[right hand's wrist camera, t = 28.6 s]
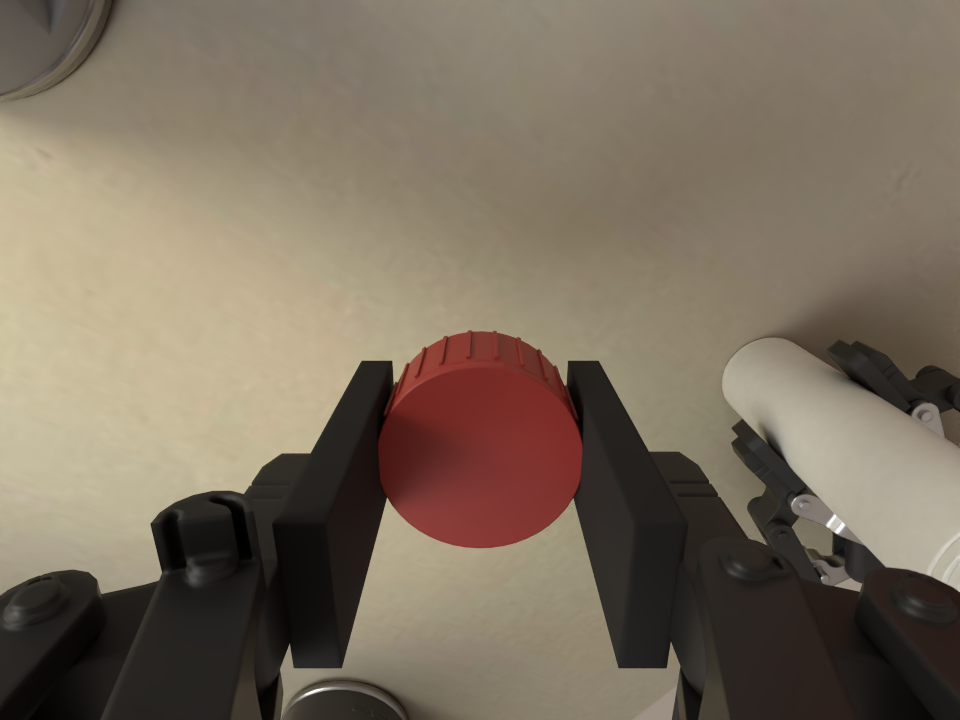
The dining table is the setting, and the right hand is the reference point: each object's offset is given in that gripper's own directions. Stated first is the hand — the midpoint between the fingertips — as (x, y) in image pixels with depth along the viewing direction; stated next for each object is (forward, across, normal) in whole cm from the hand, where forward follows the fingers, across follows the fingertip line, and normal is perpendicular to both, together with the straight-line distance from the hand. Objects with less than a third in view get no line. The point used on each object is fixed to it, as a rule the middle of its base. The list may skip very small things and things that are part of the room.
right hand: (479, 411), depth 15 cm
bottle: (+17, +16, -6) cm, 24 cm away
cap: (-2, 0, 0) cm, 2 cm away
